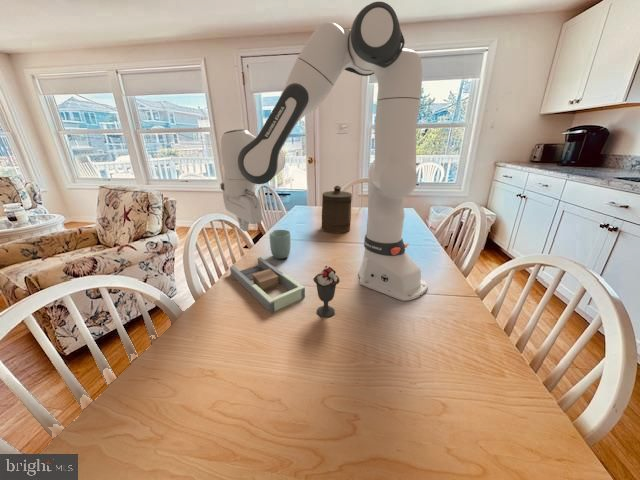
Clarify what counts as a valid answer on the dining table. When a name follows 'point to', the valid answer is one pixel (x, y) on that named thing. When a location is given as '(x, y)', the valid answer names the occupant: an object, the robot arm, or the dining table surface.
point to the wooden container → (336, 211)
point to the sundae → (326, 290)
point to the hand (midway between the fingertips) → (244, 229)
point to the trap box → (269, 303)
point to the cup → (280, 243)
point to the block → (266, 280)
